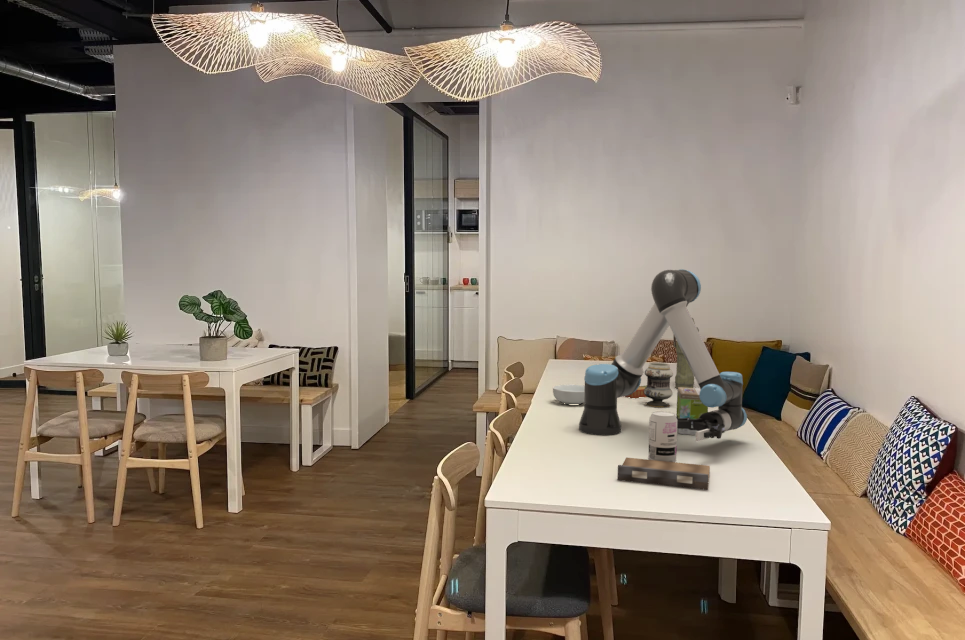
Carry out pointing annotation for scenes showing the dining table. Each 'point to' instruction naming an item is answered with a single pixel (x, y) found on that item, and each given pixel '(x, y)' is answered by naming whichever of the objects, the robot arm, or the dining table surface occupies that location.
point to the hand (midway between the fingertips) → (677, 432)
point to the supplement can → (662, 436)
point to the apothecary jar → (658, 384)
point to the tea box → (689, 406)
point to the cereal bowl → (569, 393)
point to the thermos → (683, 368)
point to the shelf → (664, 473)
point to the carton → (638, 392)
